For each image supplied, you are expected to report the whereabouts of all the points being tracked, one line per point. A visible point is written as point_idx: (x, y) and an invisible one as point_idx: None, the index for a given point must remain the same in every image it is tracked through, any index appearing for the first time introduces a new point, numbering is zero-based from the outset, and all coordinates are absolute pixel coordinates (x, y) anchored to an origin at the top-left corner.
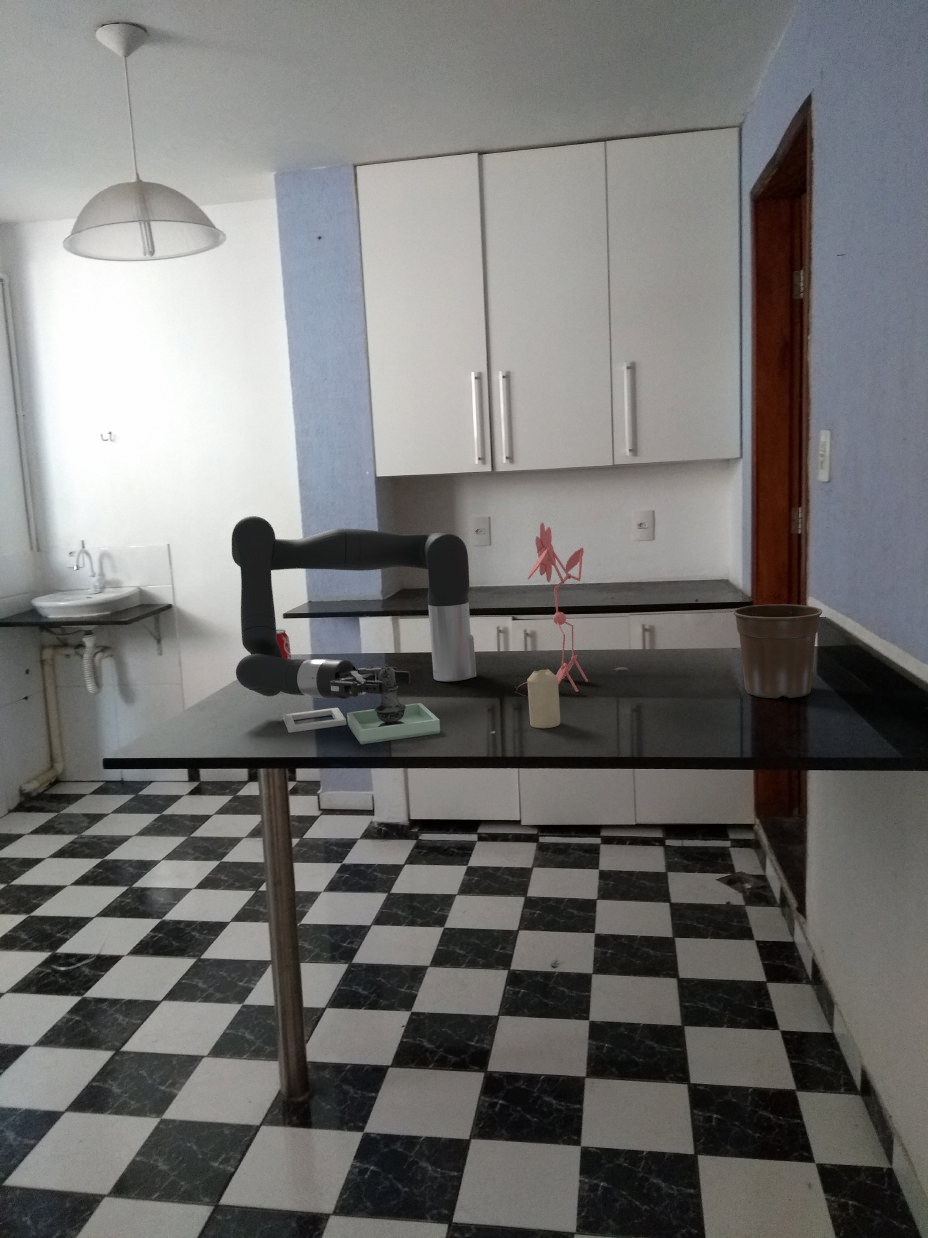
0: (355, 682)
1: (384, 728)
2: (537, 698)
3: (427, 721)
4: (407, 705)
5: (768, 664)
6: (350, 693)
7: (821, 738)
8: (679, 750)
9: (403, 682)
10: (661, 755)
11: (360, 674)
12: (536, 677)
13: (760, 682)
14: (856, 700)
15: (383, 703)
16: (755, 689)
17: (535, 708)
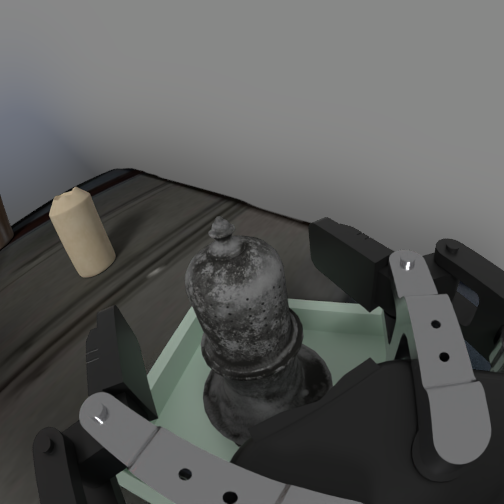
0: (444, 248)
1: (346, 305)
2: (98, 216)
3: None
4: (136, 480)
5: (2, 213)
6: (458, 296)
7: (94, 185)
8: (141, 185)
9: (141, 362)
10: (157, 181)
11: (366, 483)
12: (82, 191)
13: (5, 230)
14: (20, 221)
15: (299, 362)
16: (4, 238)
17: (104, 232)
